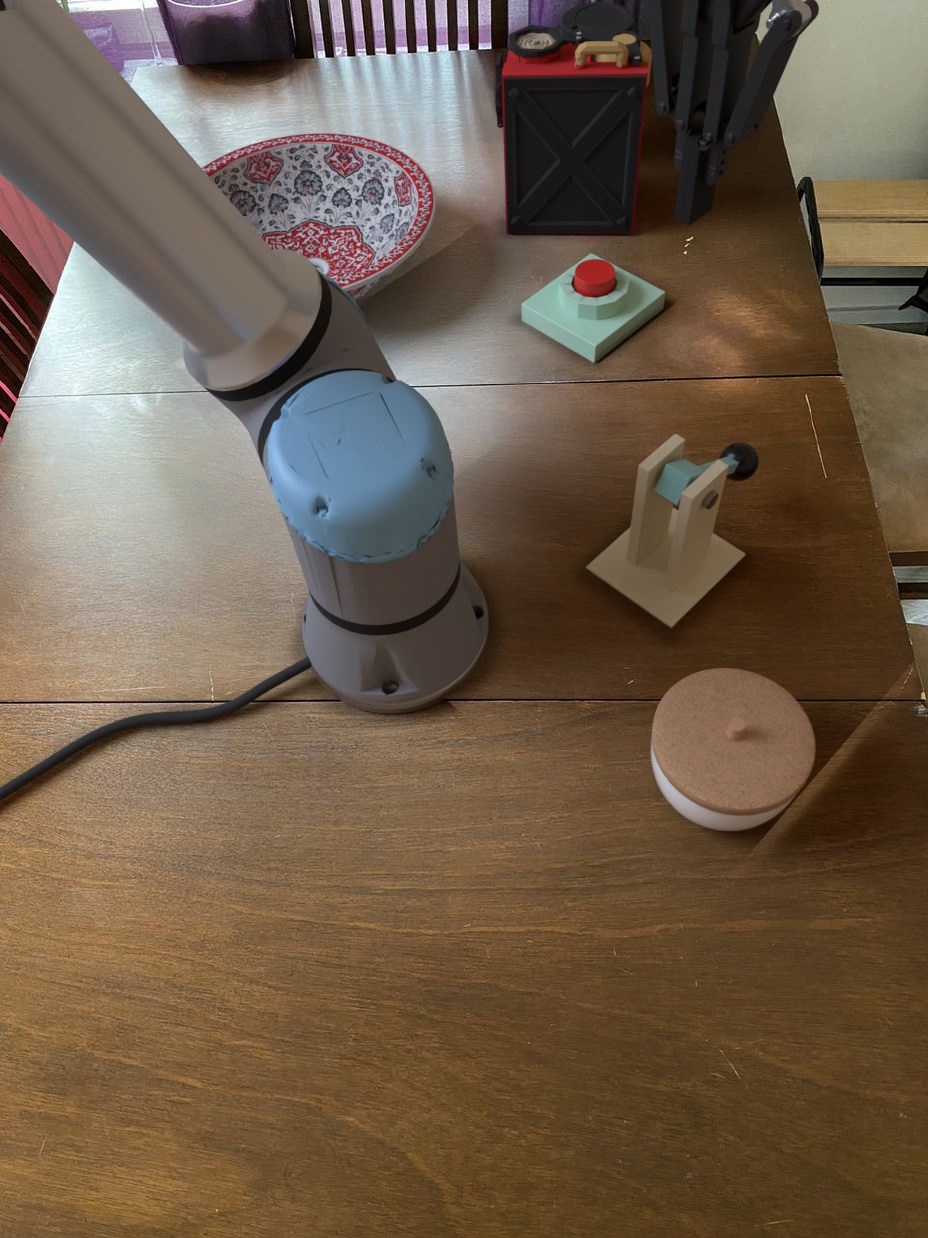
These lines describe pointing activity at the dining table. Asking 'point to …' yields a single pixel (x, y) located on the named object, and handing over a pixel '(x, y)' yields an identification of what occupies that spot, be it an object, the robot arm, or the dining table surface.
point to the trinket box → (730, 748)
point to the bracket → (669, 541)
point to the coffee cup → (597, 18)
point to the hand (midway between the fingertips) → (693, 213)
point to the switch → (685, 472)
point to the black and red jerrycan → (571, 129)
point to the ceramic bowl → (332, 202)
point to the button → (594, 278)
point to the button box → (592, 312)
